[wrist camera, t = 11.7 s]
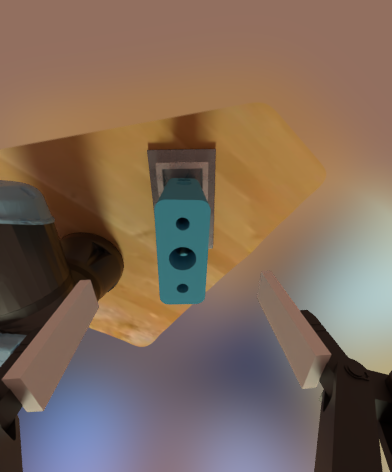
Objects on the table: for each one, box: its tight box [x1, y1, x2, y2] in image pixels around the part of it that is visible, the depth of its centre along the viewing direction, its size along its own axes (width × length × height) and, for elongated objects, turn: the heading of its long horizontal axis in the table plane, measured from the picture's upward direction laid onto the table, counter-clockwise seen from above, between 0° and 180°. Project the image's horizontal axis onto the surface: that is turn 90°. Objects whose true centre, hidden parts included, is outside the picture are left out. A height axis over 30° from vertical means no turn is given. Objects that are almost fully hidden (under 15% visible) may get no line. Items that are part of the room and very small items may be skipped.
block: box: [154, 178, 211, 304], centre depth 28 cm, size 12×5×20 cm, turn 178°
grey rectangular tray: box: [147, 149, 216, 249], centre depth 36 cm, size 12×20×3 cm, turn 1°
